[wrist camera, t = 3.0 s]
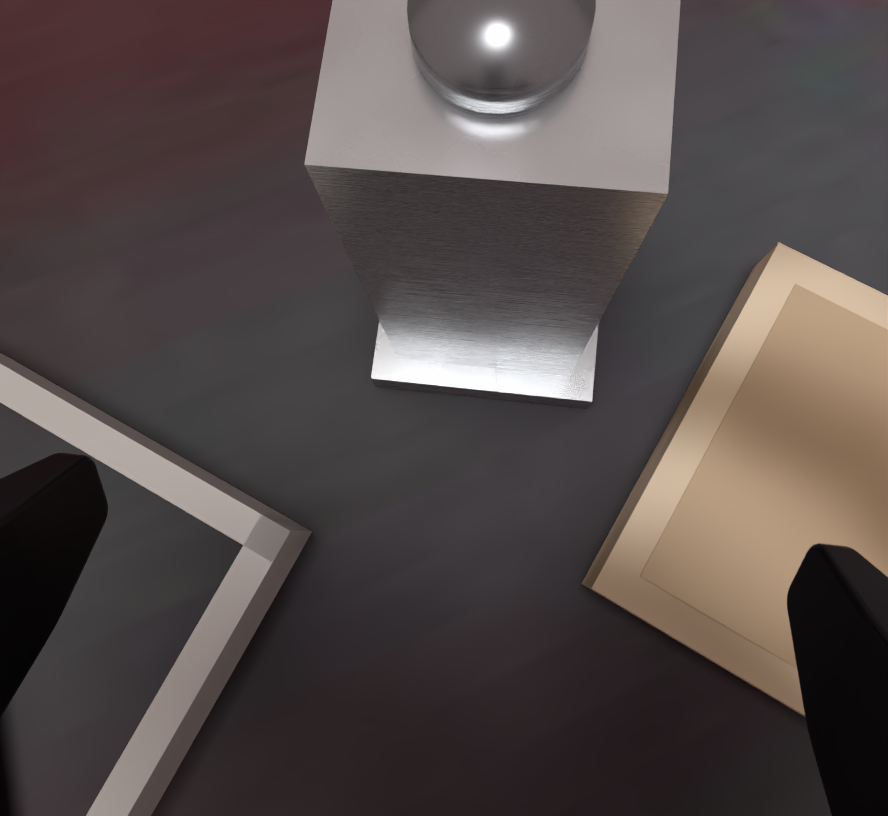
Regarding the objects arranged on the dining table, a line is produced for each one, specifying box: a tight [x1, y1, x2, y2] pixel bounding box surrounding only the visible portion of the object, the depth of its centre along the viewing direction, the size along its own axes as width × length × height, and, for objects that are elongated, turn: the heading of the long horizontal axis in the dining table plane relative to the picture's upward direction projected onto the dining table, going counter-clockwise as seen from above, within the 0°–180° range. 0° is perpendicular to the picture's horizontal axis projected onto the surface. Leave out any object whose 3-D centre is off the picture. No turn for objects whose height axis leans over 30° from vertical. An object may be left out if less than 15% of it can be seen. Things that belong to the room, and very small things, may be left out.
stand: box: [581, 243, 888, 717], centre depth 20 cm, size 12×12×2 cm
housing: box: [304, 0, 680, 409], centre depth 16 cm, size 6×7×13 cm
